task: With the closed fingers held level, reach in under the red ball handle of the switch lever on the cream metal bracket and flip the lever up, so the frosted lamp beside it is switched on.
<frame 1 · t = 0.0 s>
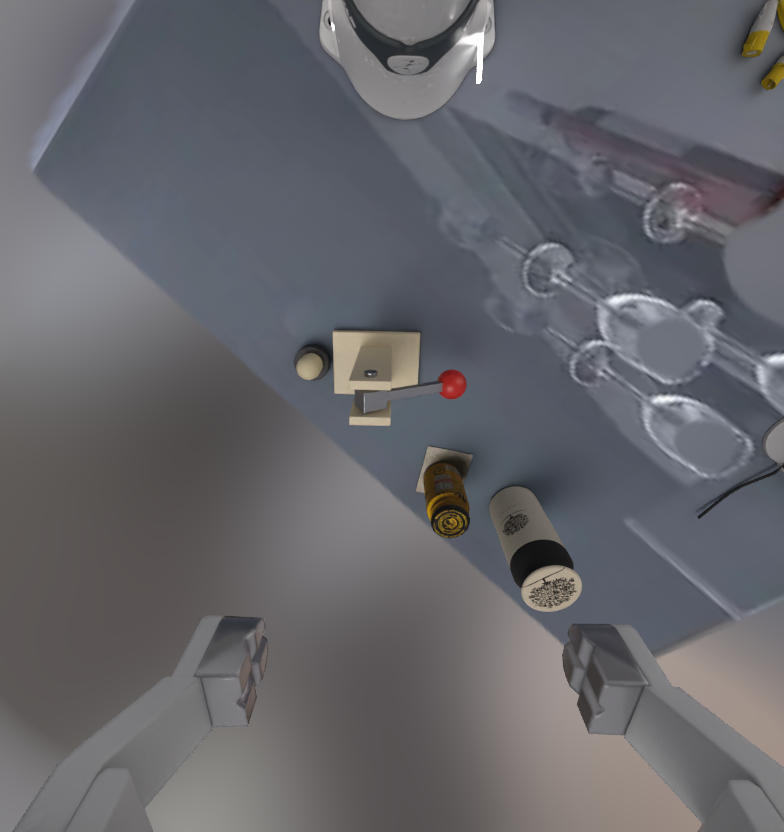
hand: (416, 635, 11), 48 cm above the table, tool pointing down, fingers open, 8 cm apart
condiment: (443, 472, 64), on the table
travel mug: (512, 504, 66), on the table
switch lever: (414, 390, 46), point 12 cm above the table, hinge at -30.0°
pilot lamp: (313, 360, 57), on the table
switch bracket: (376, 362, 57), on the table
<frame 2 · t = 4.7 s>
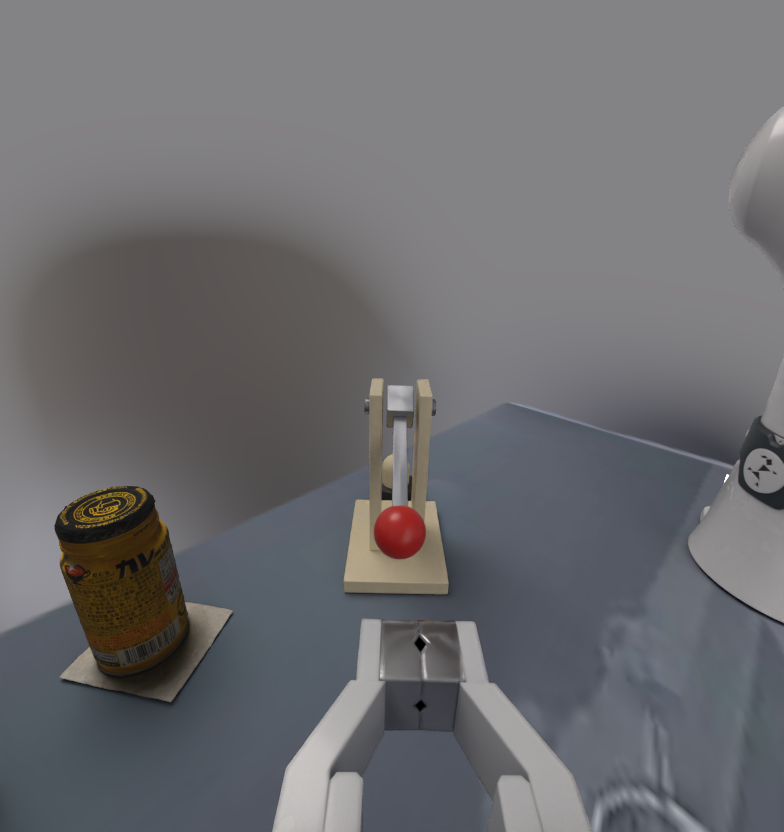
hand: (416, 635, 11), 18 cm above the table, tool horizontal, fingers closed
condiment: (155, 644, 30), on the table
switch lever: (399, 464, 30), point 12 cm above the table, hinge at -30.0°
pilot lamp: (395, 494, 48), on the table
switch bracket: (395, 545, 40), on the table
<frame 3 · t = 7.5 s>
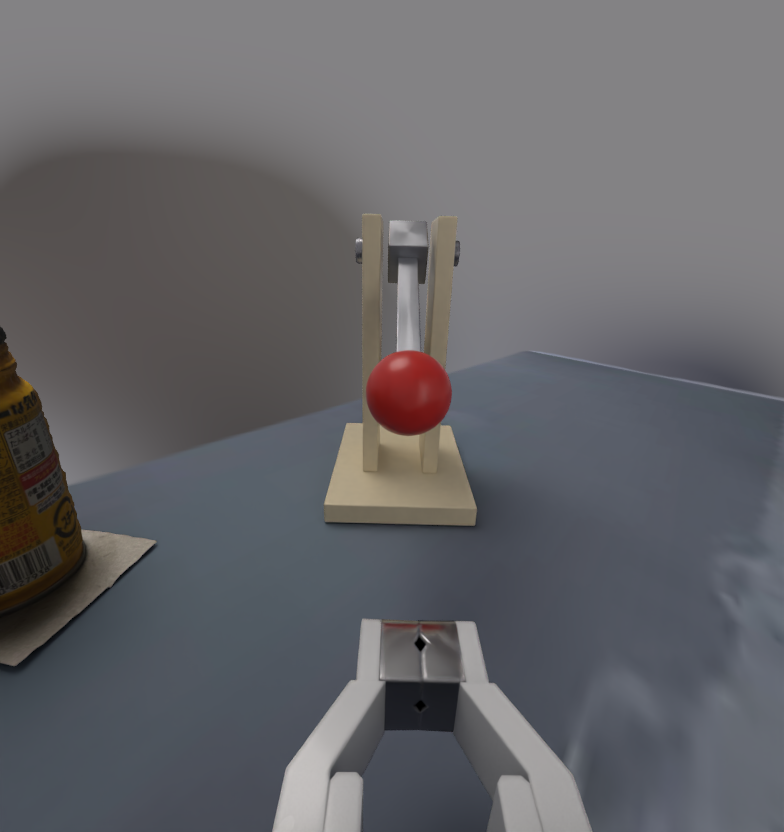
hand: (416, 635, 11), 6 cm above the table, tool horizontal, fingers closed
condiment: (25, 584, 19), on the table
switch lever: (407, 313, 20), point 12 cm above the table, hinge at -30.0°
switch bracket: (398, 472, 29), on the table
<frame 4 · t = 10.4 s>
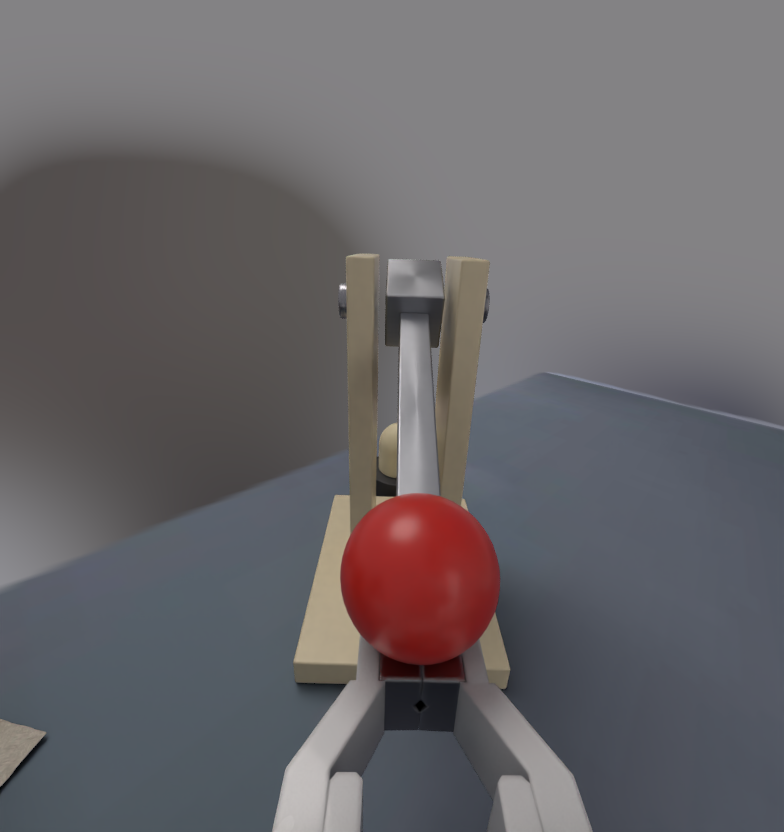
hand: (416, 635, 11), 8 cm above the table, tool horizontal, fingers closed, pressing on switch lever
switch lever: (415, 404, 13), point 13 cm above the table, hinge at -25.3°, touching gripper
pilot lamp: (399, 487, 31), on the table
switch bracket: (399, 577, 22), on the table
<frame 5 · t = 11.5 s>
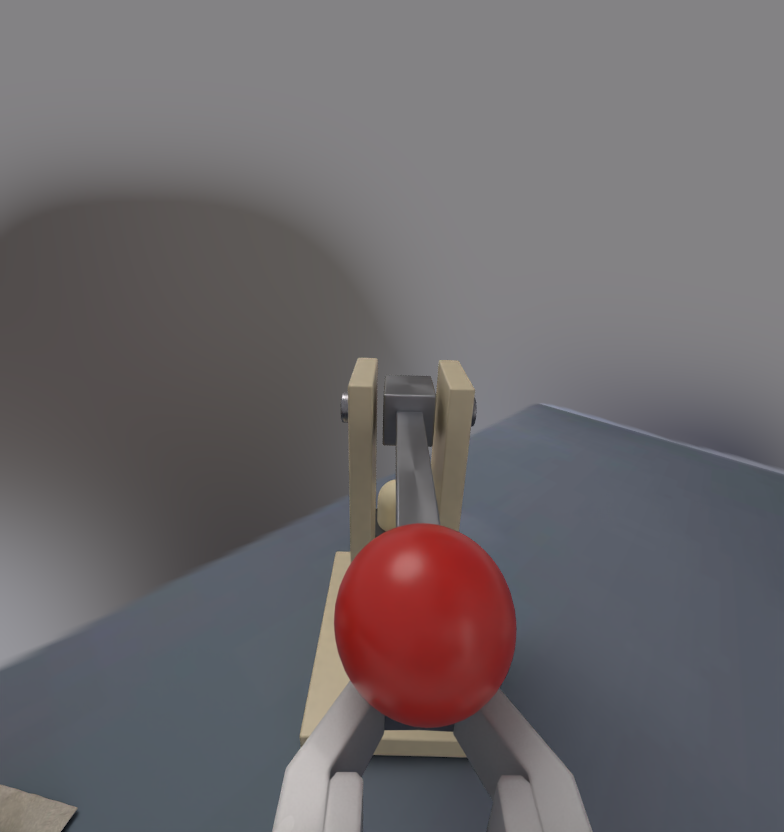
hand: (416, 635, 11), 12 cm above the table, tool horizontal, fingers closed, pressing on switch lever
switch lever: (413, 475, 13), point 15 cm above the table, hinge at -0.5°, touching gripper
pilot lamp: (396, 539, 32), on the table
switch bracket: (397, 639, 24), on the table
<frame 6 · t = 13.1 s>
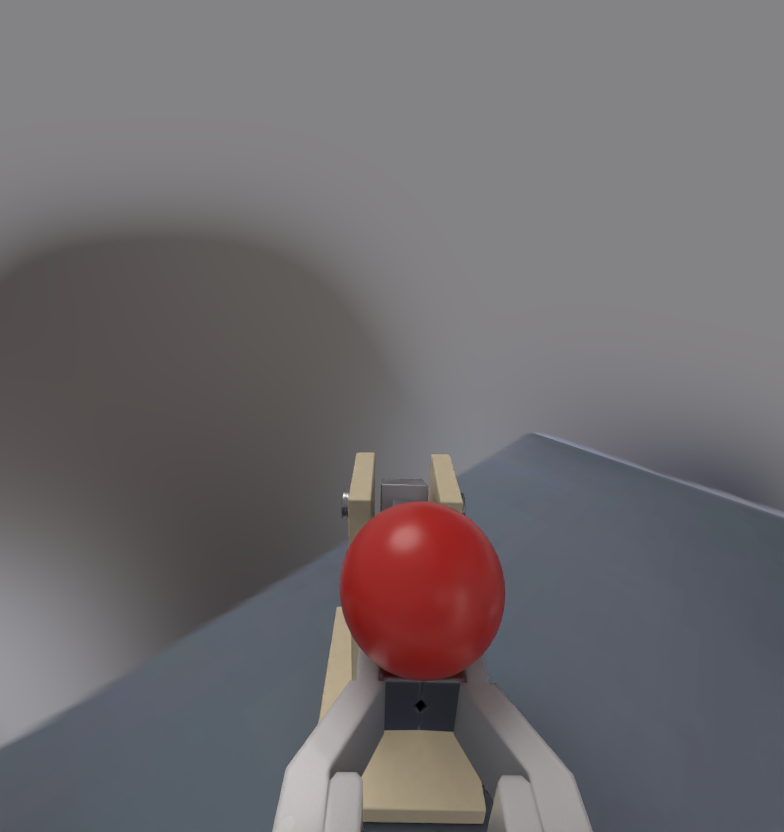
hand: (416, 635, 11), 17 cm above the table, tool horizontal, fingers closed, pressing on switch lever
switch lever: (408, 530, 14), point 18 cm above the table, hinge at 26.5°, touching gripper
switch bracket: (394, 699, 26), on the table
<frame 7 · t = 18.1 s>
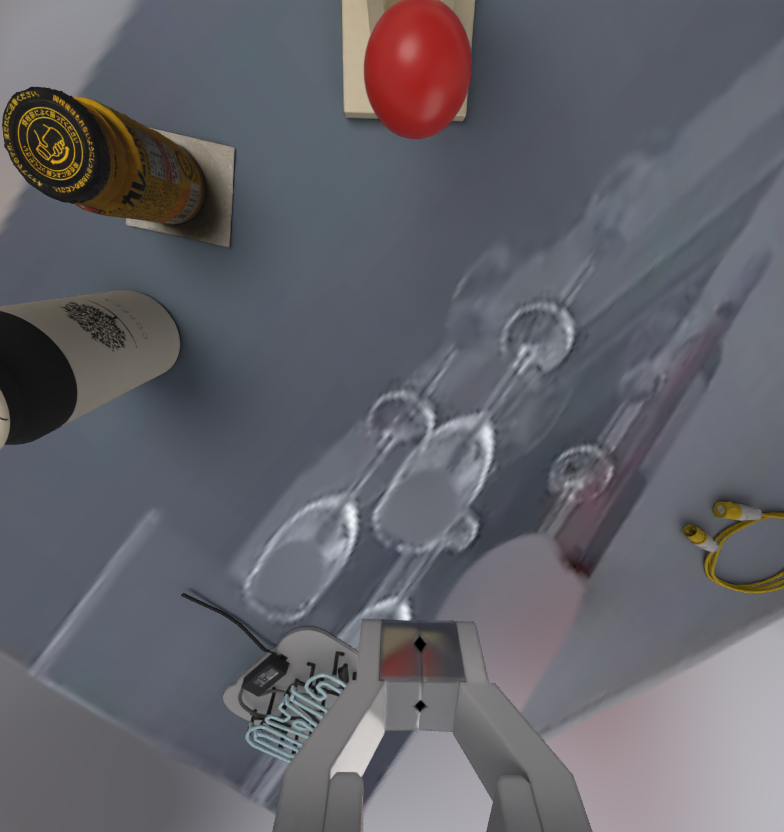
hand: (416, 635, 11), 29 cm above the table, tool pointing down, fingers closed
neon sign: (262, 661, 54), on the table
extension cord: (746, 539, 46), on the table
condiment: (181, 188, 32), on the table
travel mug: (139, 334, 37), on the table
switch bracket: (407, 17, 28), on the table
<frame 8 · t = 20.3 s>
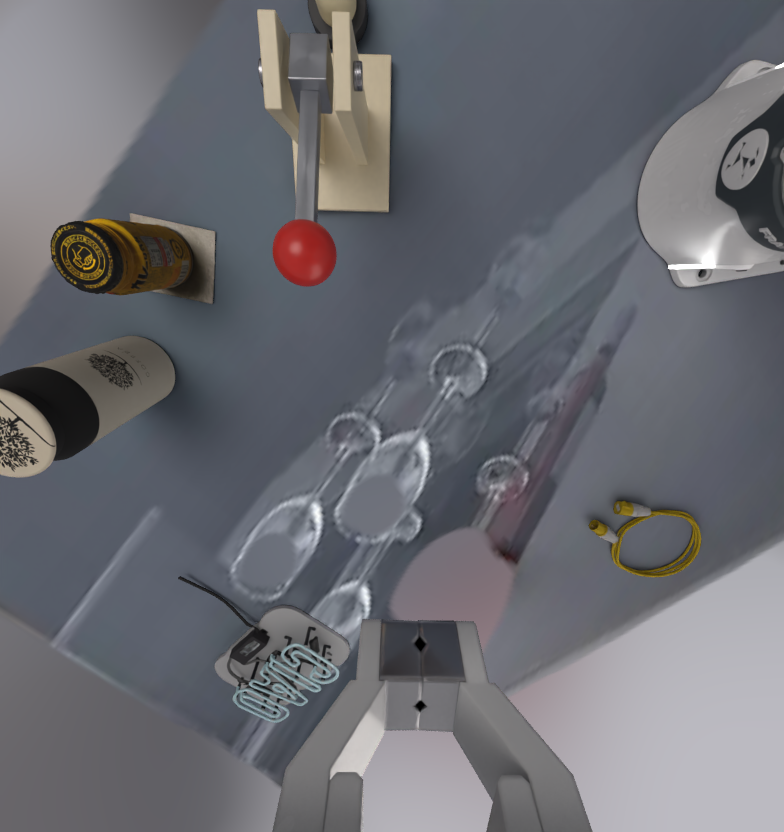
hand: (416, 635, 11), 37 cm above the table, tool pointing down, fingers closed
neon sign: (247, 635, 63), on the table
extension cord: (645, 532, 55), on the table
condiment: (175, 260, 42), on the table
travel mug: (143, 368, 46), on the table
switch lever: (308, 166, 23), point 18 cm above the table, hinge at 26.6°
pilot lamp: (339, 15, 34), on the table
switch bracket: (342, 140, 37), on the table
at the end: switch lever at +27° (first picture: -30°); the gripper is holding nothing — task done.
